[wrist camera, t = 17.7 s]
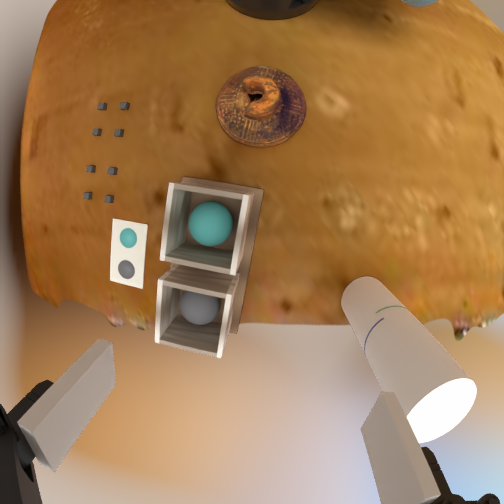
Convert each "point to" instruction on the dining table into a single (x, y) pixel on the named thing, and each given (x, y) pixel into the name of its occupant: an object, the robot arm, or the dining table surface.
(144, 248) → the dot card
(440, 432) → the cylindrical container
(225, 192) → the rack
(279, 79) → the brown patterned pot lid
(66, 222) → the dining table surface
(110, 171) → the small grey cubes
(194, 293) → the ball charcoal
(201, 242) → the ball teal
